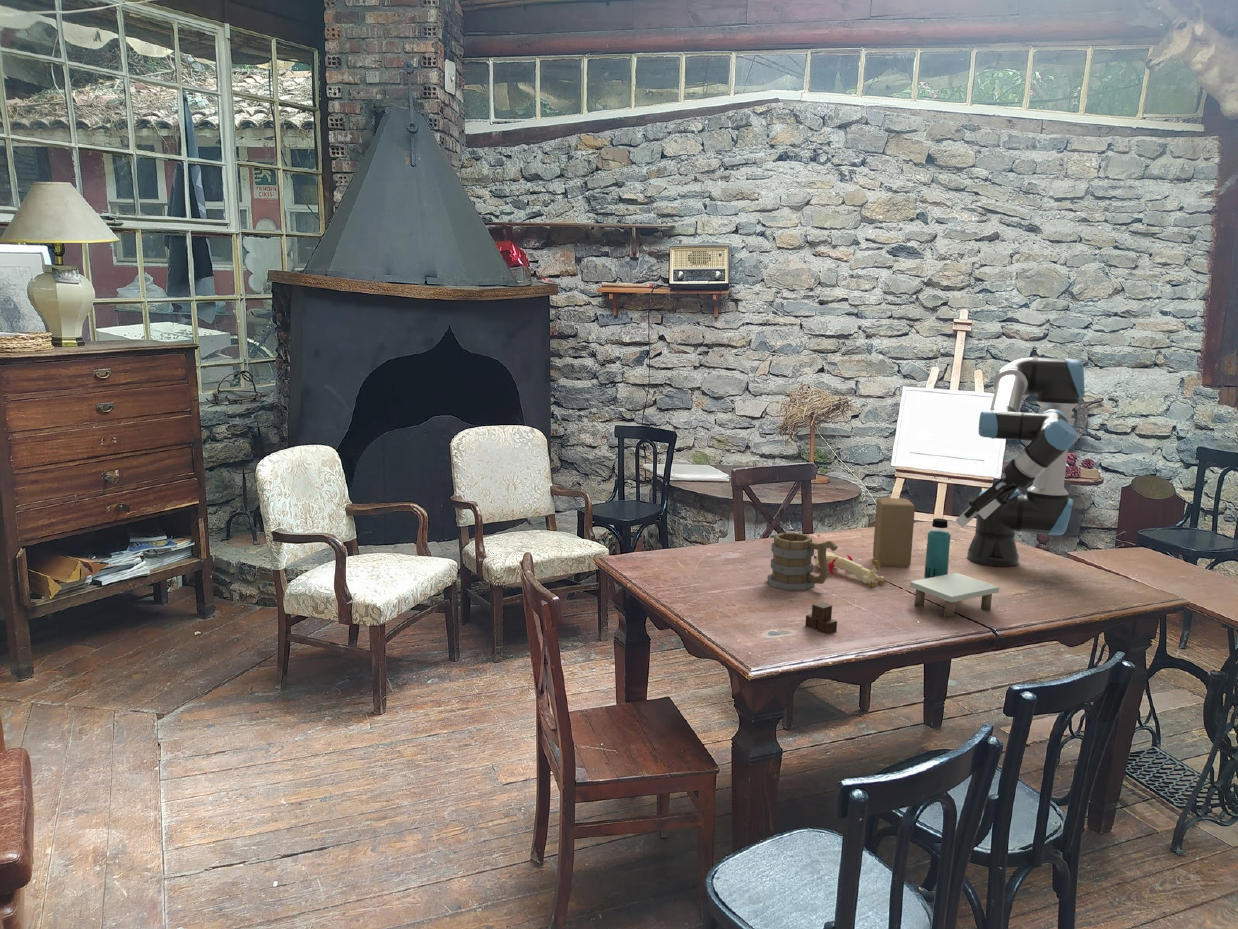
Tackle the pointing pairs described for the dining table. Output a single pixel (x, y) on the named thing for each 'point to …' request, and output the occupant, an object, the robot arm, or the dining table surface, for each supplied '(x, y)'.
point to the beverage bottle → (937, 550)
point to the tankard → (797, 561)
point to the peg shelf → (953, 591)
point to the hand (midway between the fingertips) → (970, 519)
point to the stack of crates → (821, 618)
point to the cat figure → (853, 568)
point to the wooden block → (893, 532)
